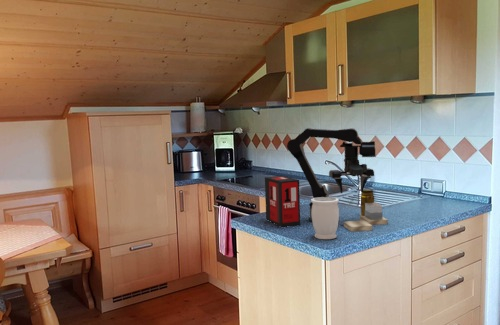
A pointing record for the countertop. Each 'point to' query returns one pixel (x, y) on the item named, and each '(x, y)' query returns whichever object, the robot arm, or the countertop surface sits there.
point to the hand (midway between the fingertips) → (351, 192)
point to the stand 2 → (374, 221)
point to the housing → (373, 211)
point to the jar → (325, 217)
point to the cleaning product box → (282, 200)
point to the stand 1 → (357, 226)
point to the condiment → (366, 199)
